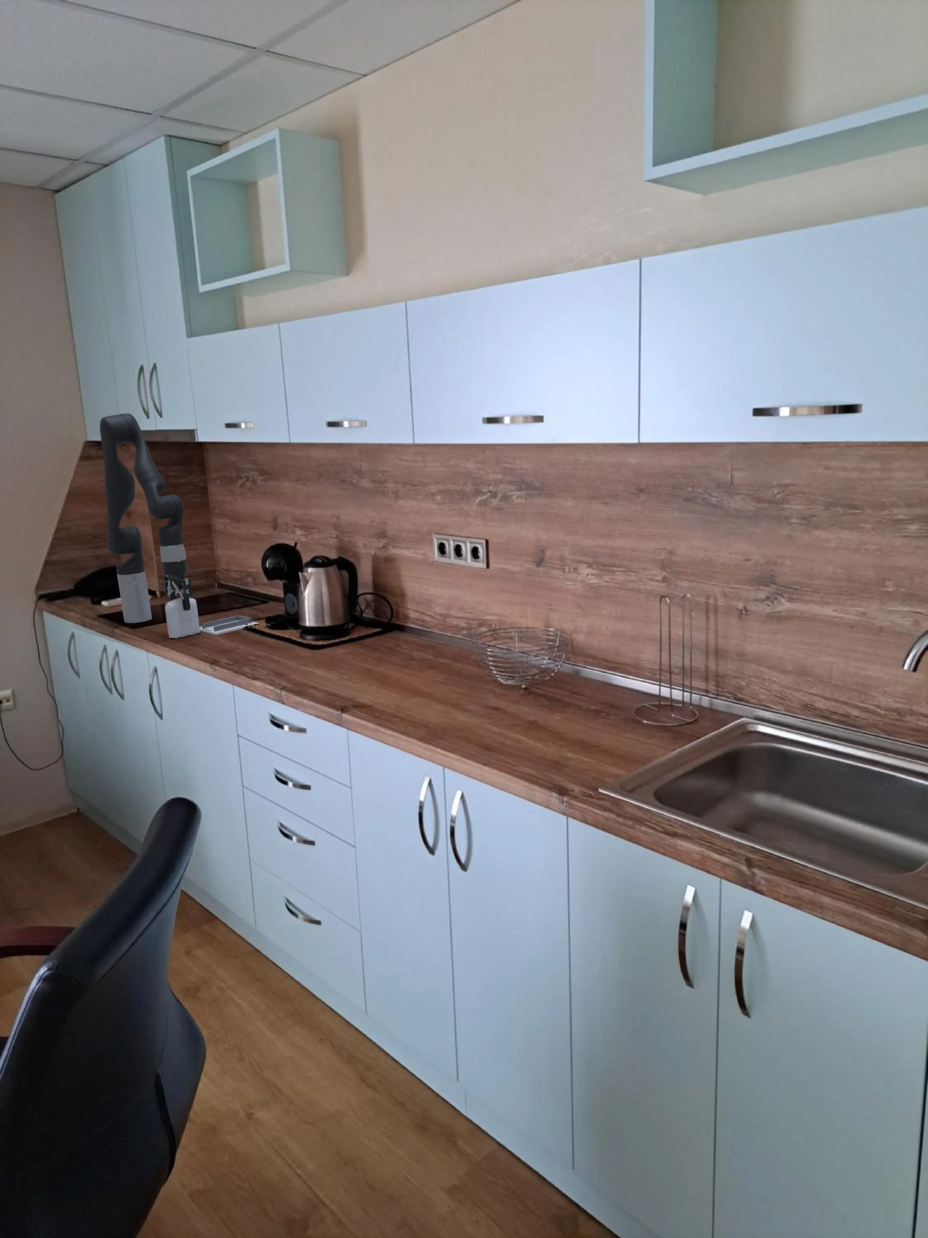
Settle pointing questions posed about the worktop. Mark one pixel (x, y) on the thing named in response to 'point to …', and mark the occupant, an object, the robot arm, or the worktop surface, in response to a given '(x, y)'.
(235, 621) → the dock
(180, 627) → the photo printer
